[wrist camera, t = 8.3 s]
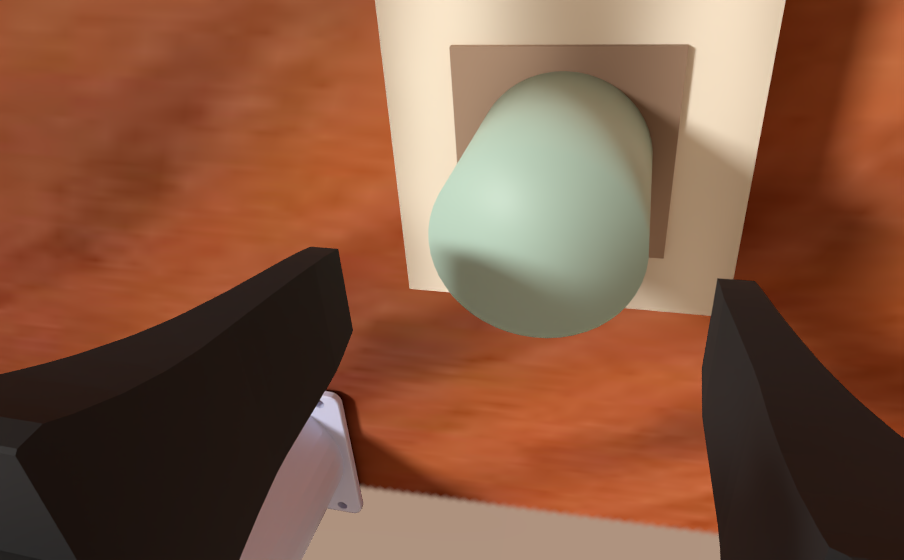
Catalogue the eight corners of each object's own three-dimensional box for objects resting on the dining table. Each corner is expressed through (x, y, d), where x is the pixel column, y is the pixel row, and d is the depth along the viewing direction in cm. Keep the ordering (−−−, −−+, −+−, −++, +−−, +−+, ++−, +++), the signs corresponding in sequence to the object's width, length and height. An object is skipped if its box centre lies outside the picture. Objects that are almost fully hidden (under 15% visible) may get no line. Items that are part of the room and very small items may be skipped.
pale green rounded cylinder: (480, 228, 21) (436, 326, 17) (473, 69, 18) (418, 141, 14) (644, 239, 20) (638, 348, 16) (661, 72, 17) (660, 150, 13)
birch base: (433, 244, 25) (407, 291, 23) (406, -53, 20) (368, -34, 17) (719, 265, 23) (726, 320, 20) (777, -67, 17) (796, -48, 15)
